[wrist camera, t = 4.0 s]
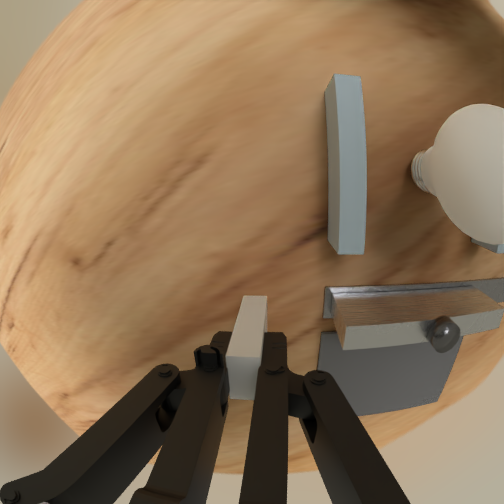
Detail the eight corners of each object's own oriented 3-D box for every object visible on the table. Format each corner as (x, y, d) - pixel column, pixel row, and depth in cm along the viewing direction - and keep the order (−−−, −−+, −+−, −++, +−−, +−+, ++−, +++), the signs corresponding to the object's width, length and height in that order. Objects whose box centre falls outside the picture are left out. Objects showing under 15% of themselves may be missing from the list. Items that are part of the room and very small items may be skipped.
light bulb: (436, 233, 17) (541, 286, 6) (365, 189, 17) (467, 210, 6) (465, 157, 15) (574, 159, 5) (399, 107, 15) (501, 58, 4)
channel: (324, 91, 15) (334, 73, 12) (483, 121, 14) (510, 117, 11) (327, 240, 18) (338, 254, 15) (482, 242, 17) (508, 253, 13)
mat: (321, 331, 20) (321, 334, 20) (466, 318, 18) (468, 320, 18) (310, 417, 22) (310, 419, 22) (435, 399, 21) (436, 401, 21)
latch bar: (332, 290, 19) (351, 334, 13) (473, 283, 17) (514, 312, 12) (330, 316, 19) (346, 365, 14) (468, 305, 18) (506, 337, 12)
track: (325, 286, 19) (325, 287, 19) (547, 272, 16) (548, 273, 16) (322, 316, 19) (323, 318, 19) (543, 292, 17) (544, 293, 17)
